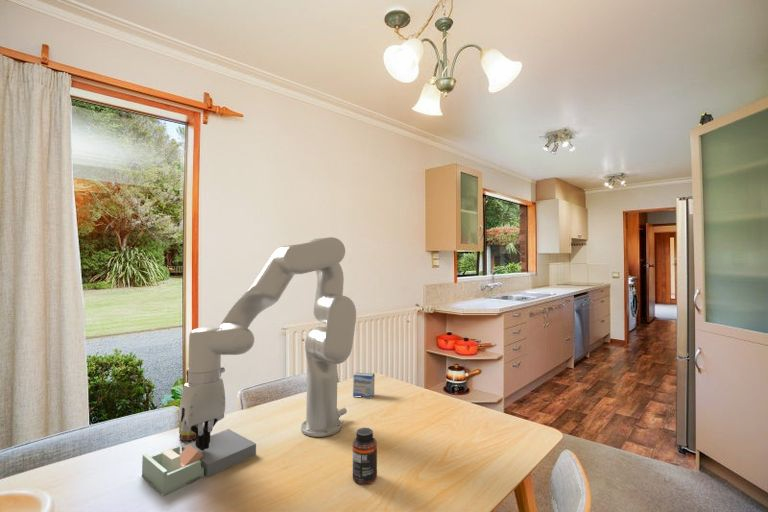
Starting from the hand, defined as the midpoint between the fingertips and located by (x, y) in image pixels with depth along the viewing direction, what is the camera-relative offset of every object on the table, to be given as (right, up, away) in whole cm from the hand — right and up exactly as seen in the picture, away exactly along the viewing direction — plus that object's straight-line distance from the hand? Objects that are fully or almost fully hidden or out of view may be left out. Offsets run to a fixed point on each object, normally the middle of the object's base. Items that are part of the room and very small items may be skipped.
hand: (202, 447), depth 91 cm
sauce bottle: (-11, -5, +14) cm, 18 cm away
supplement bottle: (+42, -5, -6) cm, 43 cm away
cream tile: (-4, -1, -6) cm, 7 cm away
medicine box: (+39, -6, +49) cm, 63 cm away
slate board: (+3, -4, +3) cm, 6 cm away
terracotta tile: (-2, -2, -3) cm, 4 cm away
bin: (-4, -4, -6) cm, 8 cm away
